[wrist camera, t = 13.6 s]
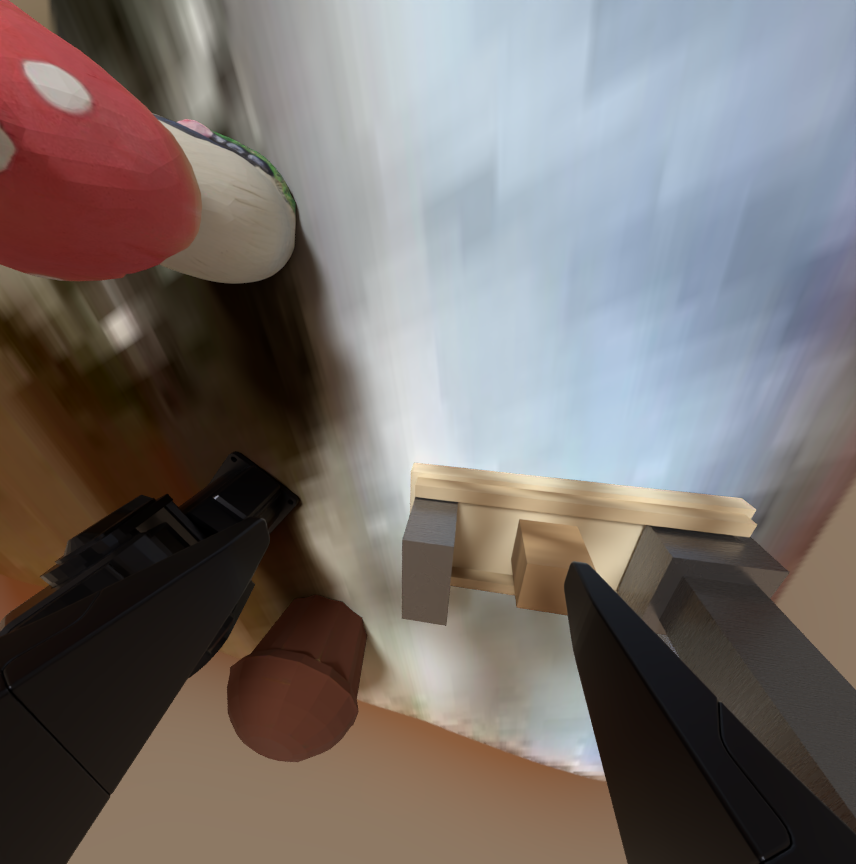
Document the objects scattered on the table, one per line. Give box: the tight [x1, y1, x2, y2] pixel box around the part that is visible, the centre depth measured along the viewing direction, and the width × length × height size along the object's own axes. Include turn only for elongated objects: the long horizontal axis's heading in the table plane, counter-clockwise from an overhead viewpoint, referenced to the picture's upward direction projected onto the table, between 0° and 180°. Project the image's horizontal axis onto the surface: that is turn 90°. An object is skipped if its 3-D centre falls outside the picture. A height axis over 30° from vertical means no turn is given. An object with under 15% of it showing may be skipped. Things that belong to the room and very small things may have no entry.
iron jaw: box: [402, 497, 458, 626], centre depth 22 cm, size 3×7×5 cm, turn 178°
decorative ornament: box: [0, 0, 296, 283], centre depth 11 cm, size 9×6×15 cm
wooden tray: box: [410, 463, 757, 596], centre depth 23 cm, size 22×10×2 cm, turn 88°
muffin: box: [227, 595, 367, 762], centre depth 29 cm, size 12×11×10 cm
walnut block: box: [511, 519, 596, 615], centre depth 21 cm, size 4×4×4 cm
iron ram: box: [618, 525, 856, 833], centre depth 16 cm, size 6×7×13 cm
